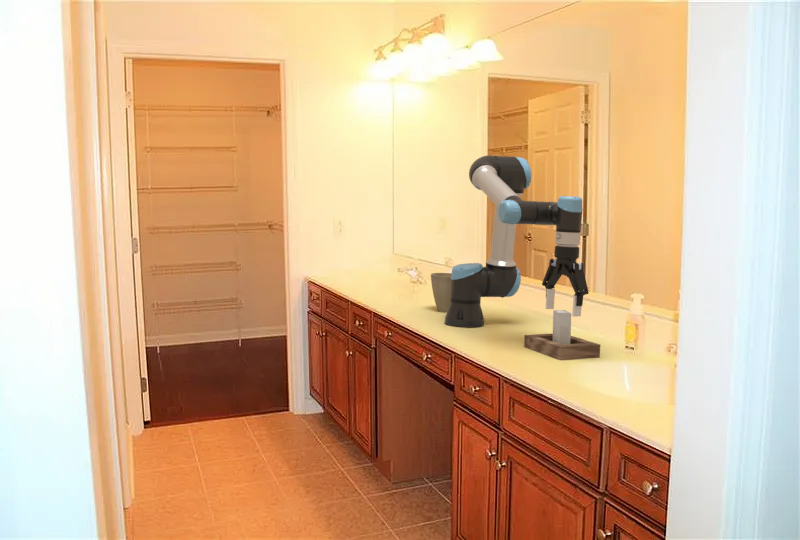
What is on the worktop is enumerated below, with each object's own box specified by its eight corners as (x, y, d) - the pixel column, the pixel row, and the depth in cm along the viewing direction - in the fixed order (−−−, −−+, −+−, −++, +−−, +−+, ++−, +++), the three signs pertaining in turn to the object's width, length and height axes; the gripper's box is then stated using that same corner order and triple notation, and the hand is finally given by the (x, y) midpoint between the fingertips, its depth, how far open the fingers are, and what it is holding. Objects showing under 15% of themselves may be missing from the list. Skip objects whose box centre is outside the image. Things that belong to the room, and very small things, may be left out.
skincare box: (570, 351, 207) (572, 312, 206) (556, 350, 207) (558, 312, 206) (564, 346, 213) (566, 309, 212) (550, 346, 213) (553, 309, 212)
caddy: (523, 347, 216) (524, 335, 215) (561, 344, 222) (562, 333, 221) (560, 360, 198) (560, 347, 198) (599, 357, 204) (600, 344, 204)
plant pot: (425, 312, 281) (426, 275, 279) (434, 307, 295) (435, 272, 293) (459, 315, 276) (461, 277, 275) (466, 310, 290) (468, 274, 289)
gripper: (534, 242, 217) (530, 306, 219) (583, 249, 194) (578, 320, 196) (552, 242, 220) (548, 305, 222) (603, 249, 197) (598, 319, 199)
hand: (562, 312), depth 209 cm, fingers open, 13 cm apart
